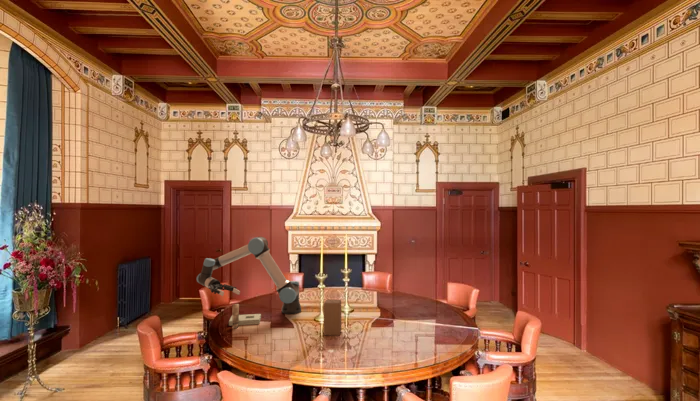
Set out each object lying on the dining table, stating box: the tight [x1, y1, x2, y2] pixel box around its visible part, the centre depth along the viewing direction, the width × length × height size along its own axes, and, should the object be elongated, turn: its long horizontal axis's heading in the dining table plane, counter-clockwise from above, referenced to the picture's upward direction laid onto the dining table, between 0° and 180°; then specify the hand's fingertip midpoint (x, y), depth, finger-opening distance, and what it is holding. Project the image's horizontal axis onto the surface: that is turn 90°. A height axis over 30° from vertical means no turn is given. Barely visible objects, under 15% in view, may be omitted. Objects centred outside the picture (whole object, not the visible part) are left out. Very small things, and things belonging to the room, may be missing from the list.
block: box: [323, 298, 342, 337], centre depth 222 cm, size 10×10×20 cm
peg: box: [231, 303, 240, 329], centre depth 233 cm, size 4×4×15 cm
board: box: [228, 313, 262, 327], centre depth 246 cm, size 20×14×3 cm
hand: (231, 293), depth 241 cm, fingers open, 13 cm apart
